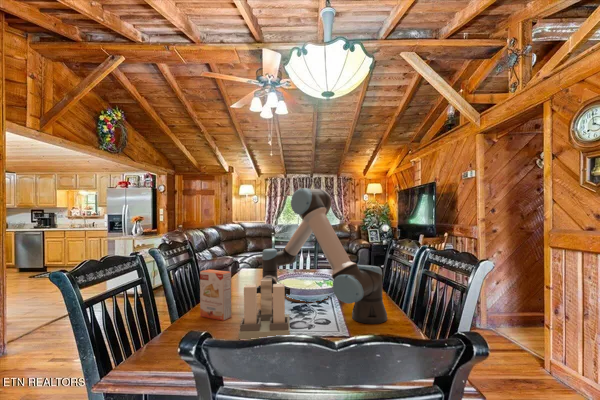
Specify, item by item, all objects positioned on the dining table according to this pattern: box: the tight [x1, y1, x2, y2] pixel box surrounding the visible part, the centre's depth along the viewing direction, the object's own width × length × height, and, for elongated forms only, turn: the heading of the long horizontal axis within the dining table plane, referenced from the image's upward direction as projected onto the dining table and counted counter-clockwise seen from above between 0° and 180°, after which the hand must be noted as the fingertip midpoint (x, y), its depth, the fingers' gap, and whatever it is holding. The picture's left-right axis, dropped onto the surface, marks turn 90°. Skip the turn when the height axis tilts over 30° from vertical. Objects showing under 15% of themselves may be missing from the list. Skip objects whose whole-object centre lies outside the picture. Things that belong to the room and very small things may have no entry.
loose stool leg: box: [260, 278, 273, 314], centre depth 133 cm, size 4×4×16 cm
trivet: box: [285, 296, 329, 304], centre depth 176 cm, size 25×25×2 cm
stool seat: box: [238, 283, 291, 340], centre depth 127 cm, size 19×19×19 cm
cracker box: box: [199, 269, 233, 322], centre depth 144 cm, size 14×6×21 cm, turn 62°
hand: (266, 296), depth 130 cm, fingers open, 13 cm apart
